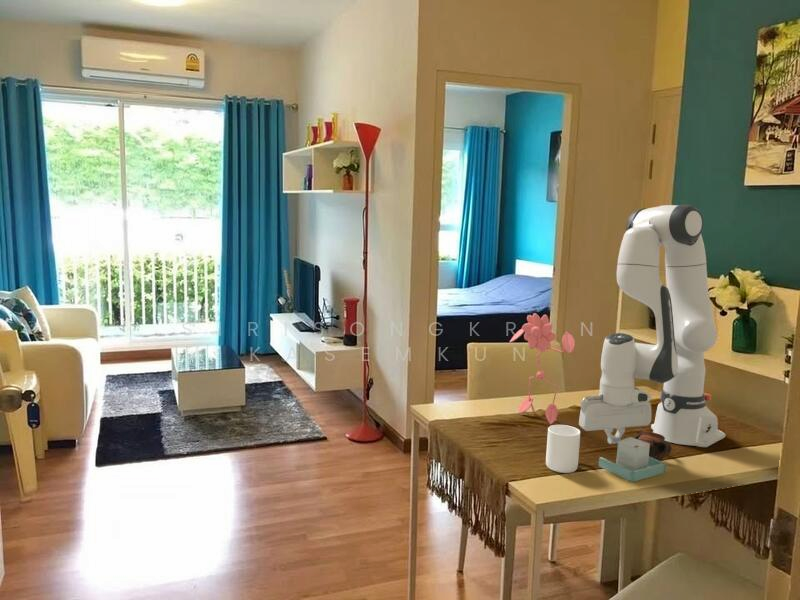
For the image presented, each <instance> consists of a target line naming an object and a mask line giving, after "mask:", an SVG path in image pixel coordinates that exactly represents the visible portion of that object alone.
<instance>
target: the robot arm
mask: <svg viewBox="0 0 800 600" xmlns="http://www.w3.org/2000/svg"><path fill="white" fill-rule="evenodd" d="M625 228H626V231H625V233H624V234H623V238H622V240H621V243H620V247H619V252H618V256H617V265H616V283H617V285H618V287H619V288H620V290H621V291H622V292H623V293H624V294H625V295H627V296H628V297H630V298H632V299H634V300H636V301H638V302H639V303H640V302H641V303H642V304H644V305H646V306H647V307H648V308H650V310H651V311H652V312H653V314H654V317H655V330H656V342H657V343H656V344H649V343H642V342H636V341H635V338H634V336H632V335H631V334H627V333H624V332H623V333H622V332H616V333H611V334H608V335H606V337H605V338H604V341H603V343H602V344H603V346H602V351H601V356H600V357H601V359H600V369H601V377H600V379H599V380H600V381H599V394H598V395H597V394H596V395H588V396H587V395H586V397H585V398H583V399H582V400H581V402H580V413H579V418H578V419H579V420H578V426H579V427H580V428H581V429H583V430H584V431H586V432H589V431H591V432H592V431H601V430H604V432H605V434H606V436H607V443H608V444H610V445H612V444H613V445H614V444H618V441H621V440H622V439H621V438H622V436H623V435H624V434H625V432H626V428H636V427H645V426H649V425H651V426H650V428H651V429H652V432H654V433H657V434H660V435H662V436H664V437H665V439H664V441H666V442H668V443H670V444H671V443H673V444H676V445H683V446H684V445H685V446H696V447H700V448H708V447H709V446H712V445H714V444H715V443H717V442H718V441H720V440H723V439H725V438H726V432H723V431H721V430H720V429H718V425H719V424H718V423H719V422H718V421H719V420H718V419H719V418H718V417H717V415H716V414H715V413H713V411H711V410H710V409H709V408H708V407H707V403H706V401H708V402H710V401H711V400H712V394H710V393H706V392H704V387H705V377H706V370H707V369H706V365H705V354H704V352H707V351H709V350H710V349H712V348H713V347H714V346H715V344H716V342H717V339H718V332H717V328H716V324H715V318H714V312H713V308H712V302H711V299H710V293H709V285H708V284H709V283H708V269H707V255H706V248H705V243H704V239H703V236H702V232H703V228H704V219H703V215H702V214H701V212H700V211H699V209H698V208H697V207H696V206H693V205H689V204H679V205H677V204H675V205H674V204H665V205H663V204H662V205H659V206H653V207H649V208H647V207H646V208H644V207H643V208H640V209H637V210H635V211H633V212H632V213H631V214H630V215H629V217H628V218H627V222H626V225H625ZM662 246H664V248H665V251H664V253H665V254H664V263H665V264H664V265H665V283H666V284H665V285H663V282H662V281H661V277H660V260H661V251H660V250H661V248H662ZM634 378H636V379H637V378H638V379H643V380H648V381H651V382H655V383H660V384H663V386H662V387H663V388H662V389H661V392H660V403H658V405H657V409H656V413H655V419H654V423H652V424H651V422H652V405H651V402H650V401H651V398H652V396H651V395H652V394H650V393H648V392H647V391H645V390H643V389H641V388H637V387H635V380H634ZM615 429H616V432H615V434H614V435H613V434H612V433H613V432H614V430H615Z"/></svg>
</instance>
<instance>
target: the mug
mask: <svg viewBox="0 0 800 600" xmlns="http://www.w3.org/2000/svg"><path fill="white" fill-rule="evenodd" d="M547 430H548V431H547V439H546V453H545V465H546V467H547V468H548V470H551V471H552V472H557V473H560V474H571V473H574V472H575V471H576V470H577V469H578V468H579V456H580V443H581V430H580V429H578V428H577V427H574V426H572V425H571V426H570V425H567V424H566V425H565V424H553V425H552V424H551V425H550V426H549V427H547Z"/></svg>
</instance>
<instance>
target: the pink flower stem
mask: <svg viewBox="0 0 800 600" xmlns="http://www.w3.org/2000/svg"><path fill="white" fill-rule="evenodd" d="M549 319H550V318H549V316H548V315H547V314H543V315H542V316H541V317H540V316H539V315H538V314H537V313H536V312H534V313H533V314H532V315H531V314H528V315H527V317H526V320H527V323H524V324H523V325H522V327H521V329H519V330H518V331H517V332H516V333H515V334H514V335H513V336H512V337H511V339H510V340H509V343H513V342H515V341H516V340H517V339H518V338H520V337H521V336H522V335H523V338H524V340H525V341H527V344H528V348H529V349H530V350H534V349H535V350H538V351H539V352H538V353H537V354H536V359H537V360H536V361H537V365H538V369H539V371H537V372H536V374H535V375H534V376H530V377H529V379H528V396H527V397H526V398H525V399H523V401H522V402H521V403H520V405H519V406H518V413H517V414H518V415H520V414H523V413H525V412H526V411H527V410H529V409H530V408H531V410H532V413H533V414H535V412H536V411H535V409H534V408H535V407H534V405H533V401H534V397H533V396H531V379H532V378H536V377H537V379H538V380H545V381H547V382H549V383H550V384H552V385H554V387H555V386H556V388H555V391H554V396H553V401H552V403H551V404H548V406H547V407H546V410H545V417H546V420H547V421H548V423H549V424H550V425H552V424H553V423H554V422H556V421H558V416H559V414H558V413H559V411H558V408H557V407H558V406H557V405H555V400H556V395H557V391H558V389H559V388H558V385H557V384H555V383H554V382H553V381H551V380H549V379H548V378H546V373H545V372H544V371H543V370H541V365H540V359H539V356H540V355H542V354H543V353H544V352H545V351H547V350H552V351H554V352H558V353H560V354H564V352H565V351H566V352H567V353H569V354H572V352H573V351H574V349H575V345H576V341H575V338H574V336H573V335H572V334H571V333H569V331H566V332H565V333H564V334H563V335H562V338H561V345H562V350H560V349H557V348H553V347H551V346H552V345H551V343H550V342H553V341H555V340H556V339H557V335H556V334H555V333H554V332H552V331H553V324H552V323H550V321H549ZM511 423H512V424H514V425H516V426H517V427H522V428H525V429H527V427H526V426H522V425H519V424H516V423H514V422H513V421H511ZM528 429H530V430H532V428H530V427H528ZM533 431H538V429H535V428H533ZM541 431H545V432H546V431H547V432H548V429H541Z"/></svg>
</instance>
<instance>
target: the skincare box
mask: <svg viewBox="0 0 800 600" xmlns="http://www.w3.org/2000/svg"><path fill="white" fill-rule="evenodd" d="M616 448H617V449H616V461H615V463H616V464H618V465H620V466H622V467H624V468H627V469H629V470H631V471H635V470H639V469H642V468H646V467H649V466H648V459H649V448H650V444H649V443H647V442H644V441H641V440H638V439H635V438H634V437H631V436H628V437H626V438H623V439H621V441H618V443H617V447H616Z"/></svg>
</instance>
